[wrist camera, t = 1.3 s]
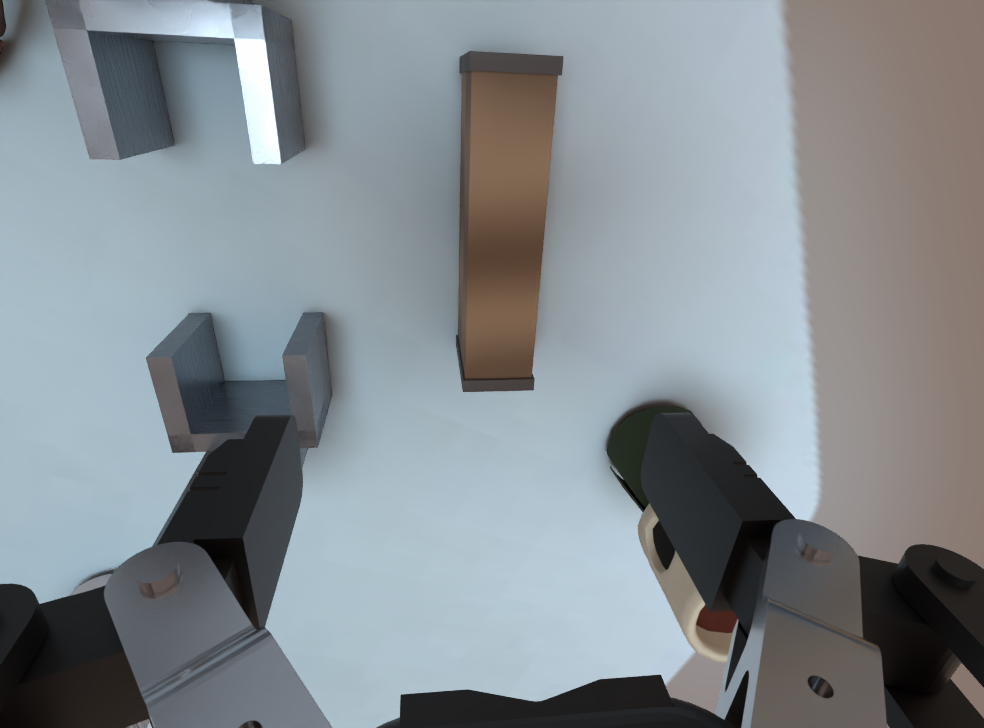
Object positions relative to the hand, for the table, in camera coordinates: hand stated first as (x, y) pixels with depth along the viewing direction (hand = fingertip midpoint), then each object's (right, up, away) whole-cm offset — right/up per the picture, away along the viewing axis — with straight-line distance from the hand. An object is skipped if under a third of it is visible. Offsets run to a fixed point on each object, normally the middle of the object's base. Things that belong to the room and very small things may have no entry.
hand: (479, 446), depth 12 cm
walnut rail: (0, +9, +15) cm, 18 cm away
